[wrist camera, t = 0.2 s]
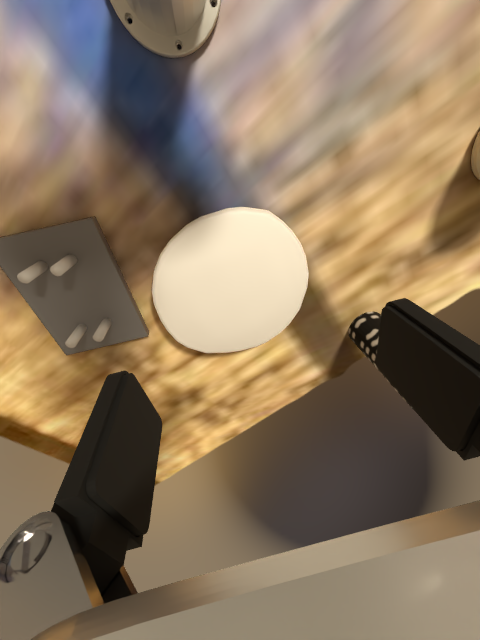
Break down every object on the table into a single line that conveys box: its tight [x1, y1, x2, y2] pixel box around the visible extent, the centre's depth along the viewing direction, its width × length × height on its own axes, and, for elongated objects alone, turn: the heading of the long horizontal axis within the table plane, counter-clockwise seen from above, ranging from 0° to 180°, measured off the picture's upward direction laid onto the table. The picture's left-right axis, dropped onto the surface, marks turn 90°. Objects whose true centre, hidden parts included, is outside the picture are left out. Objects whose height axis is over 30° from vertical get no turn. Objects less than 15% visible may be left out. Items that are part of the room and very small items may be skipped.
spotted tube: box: [349, 312, 413, 409], centre depth 49 cm, size 8×8×20 cm
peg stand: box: [0, 217, 149, 355], centre depth 41 cm, size 22×16×6 cm
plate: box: [152, 207, 309, 353], centre depth 45 cm, size 28×6×27 cm
